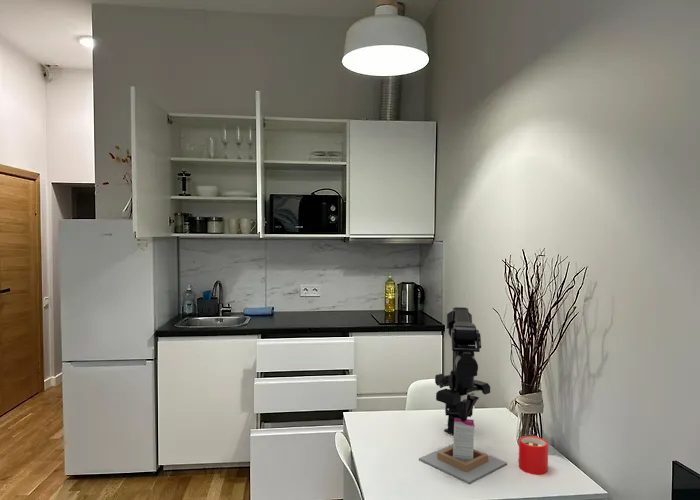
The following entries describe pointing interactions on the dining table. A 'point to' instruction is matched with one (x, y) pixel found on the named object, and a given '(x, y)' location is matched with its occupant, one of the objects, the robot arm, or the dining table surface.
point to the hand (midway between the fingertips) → (463, 420)
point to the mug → (533, 455)
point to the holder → (463, 464)
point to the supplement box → (463, 439)
